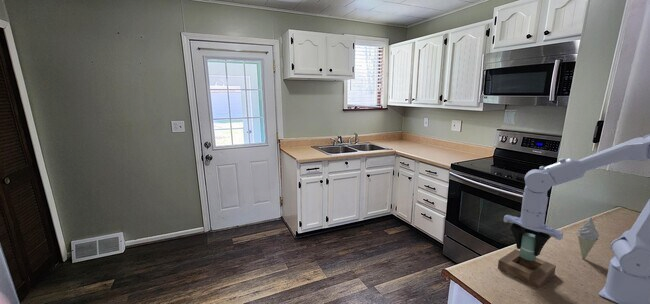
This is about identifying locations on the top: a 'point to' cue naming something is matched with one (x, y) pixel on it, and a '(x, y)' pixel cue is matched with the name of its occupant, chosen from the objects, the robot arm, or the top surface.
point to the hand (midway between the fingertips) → (528, 251)
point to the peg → (528, 246)
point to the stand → (536, 277)
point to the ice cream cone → (587, 237)
